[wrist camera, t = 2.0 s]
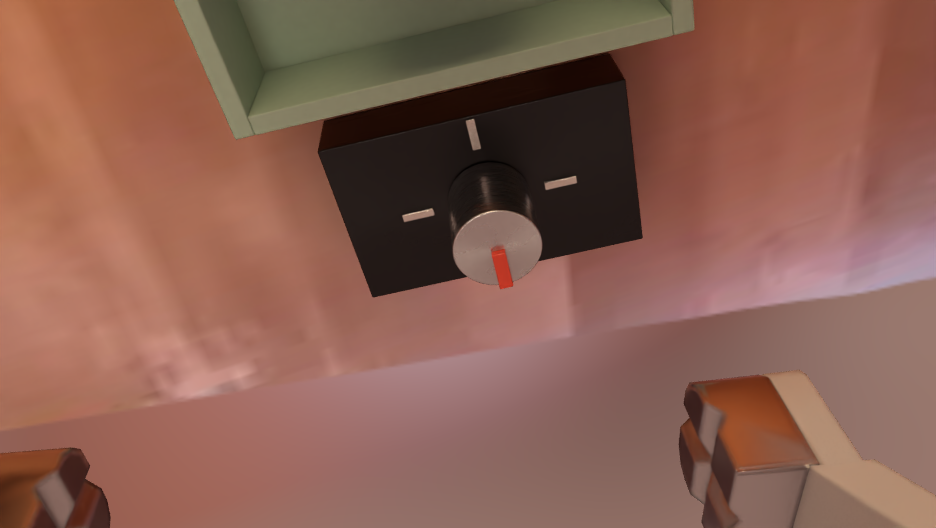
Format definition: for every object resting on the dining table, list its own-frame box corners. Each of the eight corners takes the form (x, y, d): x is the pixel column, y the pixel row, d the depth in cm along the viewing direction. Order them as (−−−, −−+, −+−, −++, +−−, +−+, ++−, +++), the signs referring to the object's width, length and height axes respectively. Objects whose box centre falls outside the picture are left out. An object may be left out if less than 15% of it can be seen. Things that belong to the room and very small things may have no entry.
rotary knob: (439, 172, 33) (443, 226, 30) (521, 153, 33) (535, 205, 30) (458, 240, 35) (464, 297, 32) (535, 222, 35) (550, 279, 32)
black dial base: (609, 52, 34) (626, 80, 31) (627, 205, 39) (643, 240, 36) (323, 121, 35) (316, 153, 32) (374, 261, 39) (372, 300, 37)
